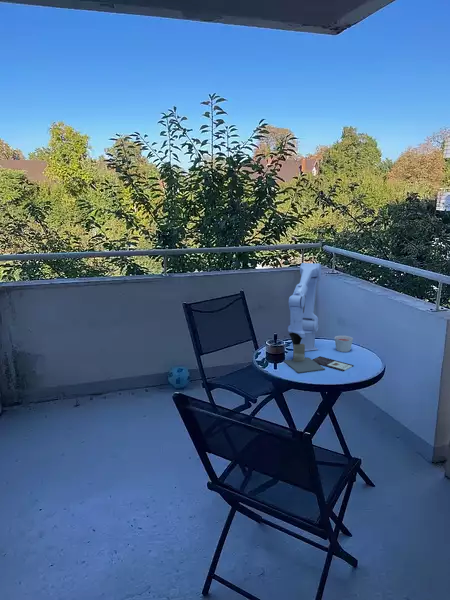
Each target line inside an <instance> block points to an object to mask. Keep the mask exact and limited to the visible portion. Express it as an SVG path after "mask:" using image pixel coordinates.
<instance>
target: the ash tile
mask: <svg viewBox="0 0 450 600" xmlns="http://www.w3.org/2000/svg"><path fill="white" fill-rule="evenodd" d="M292 347H293V349H292V351H293V352H292V353H293V354H292V355H293V356H292V359H293V361H294V362H300V361H305V358H306V357H305V354H306V353H305V352H306V351H305V344H295V345H293V344H292Z"/></svg>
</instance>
